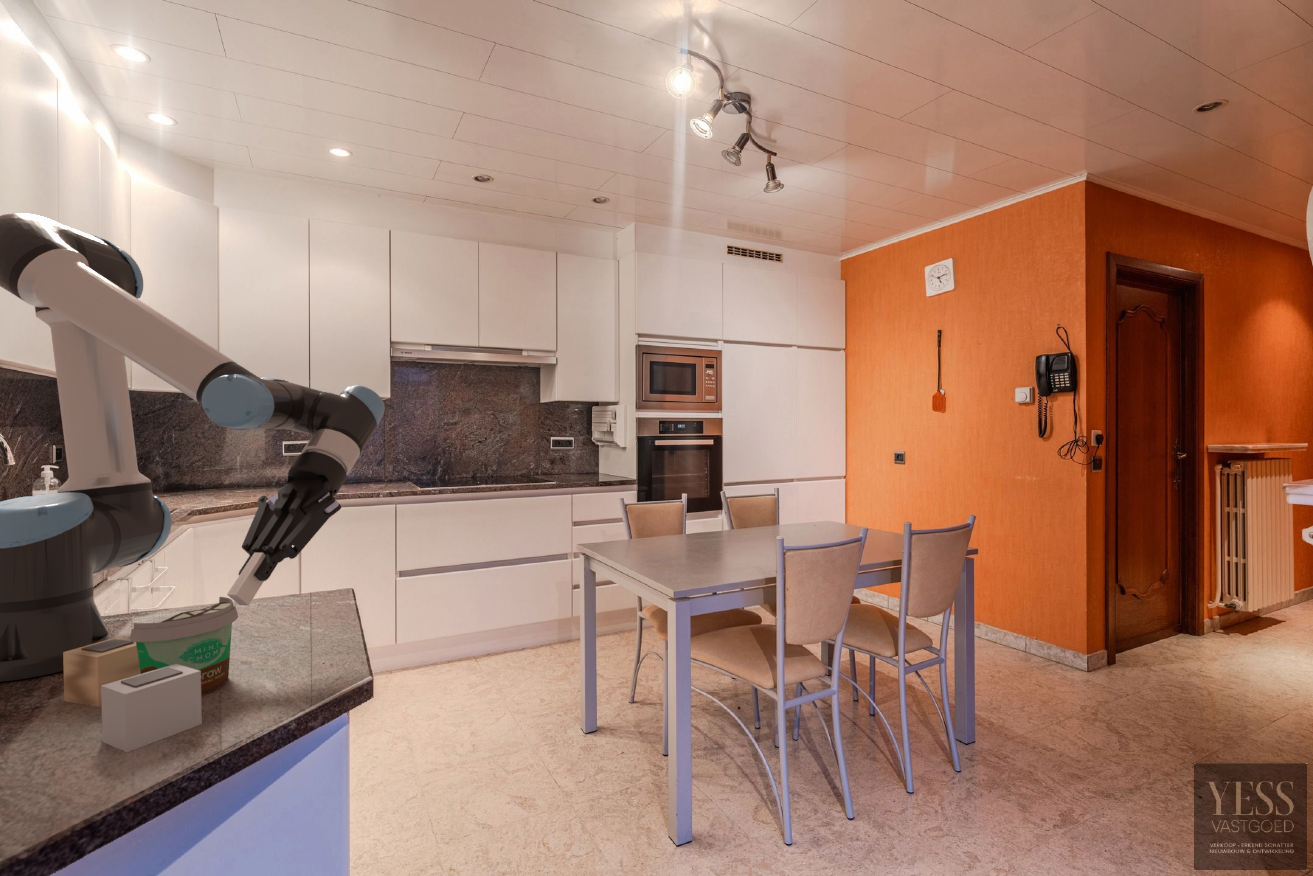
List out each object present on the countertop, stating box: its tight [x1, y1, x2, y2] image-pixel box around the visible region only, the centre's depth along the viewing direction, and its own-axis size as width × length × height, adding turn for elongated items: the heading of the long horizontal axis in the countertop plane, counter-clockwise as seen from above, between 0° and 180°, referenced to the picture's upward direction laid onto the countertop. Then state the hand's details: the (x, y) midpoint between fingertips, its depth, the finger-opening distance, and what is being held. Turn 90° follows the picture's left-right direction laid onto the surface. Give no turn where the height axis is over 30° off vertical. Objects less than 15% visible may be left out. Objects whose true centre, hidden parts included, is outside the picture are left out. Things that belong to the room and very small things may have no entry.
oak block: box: [63, 636, 141, 708], centre depth 80 cm, size 6×6×6 cm
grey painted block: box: [101, 664, 203, 753], centre depth 69 cm, size 5×7×6 cm
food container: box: [129, 596, 239, 696], centre depth 81 cm, size 12×6×10 cm, turn 166°
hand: (237, 599), depth 84 cm, fingers closed
